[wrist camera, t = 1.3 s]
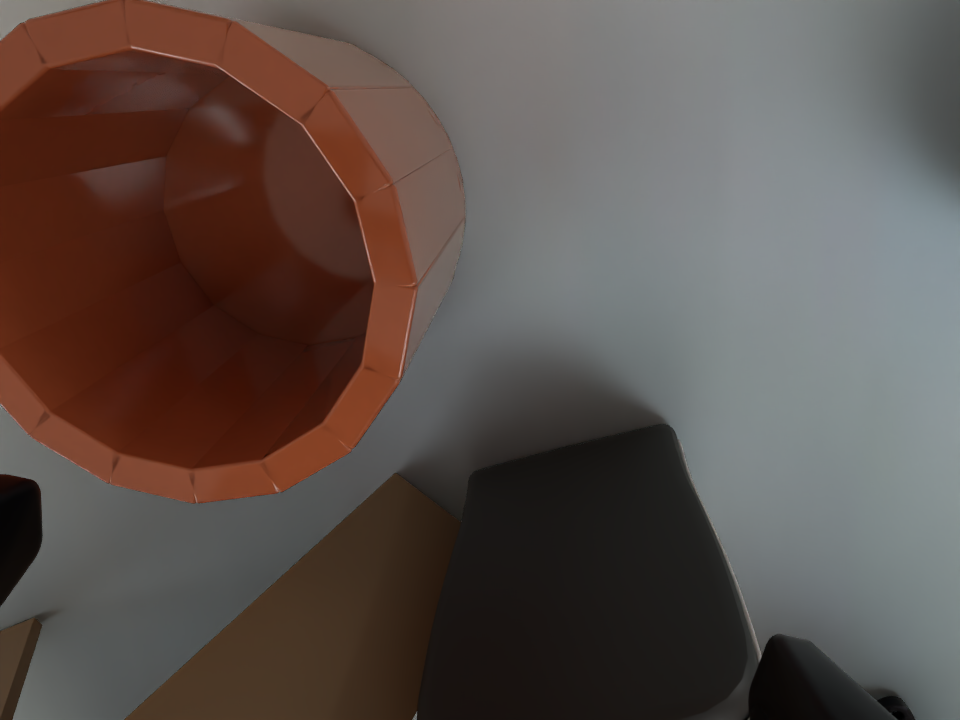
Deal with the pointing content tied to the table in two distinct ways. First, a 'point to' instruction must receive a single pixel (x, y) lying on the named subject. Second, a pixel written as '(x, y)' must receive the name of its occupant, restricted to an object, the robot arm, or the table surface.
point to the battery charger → (589, 594)
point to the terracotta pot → (211, 244)
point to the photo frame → (311, 628)
